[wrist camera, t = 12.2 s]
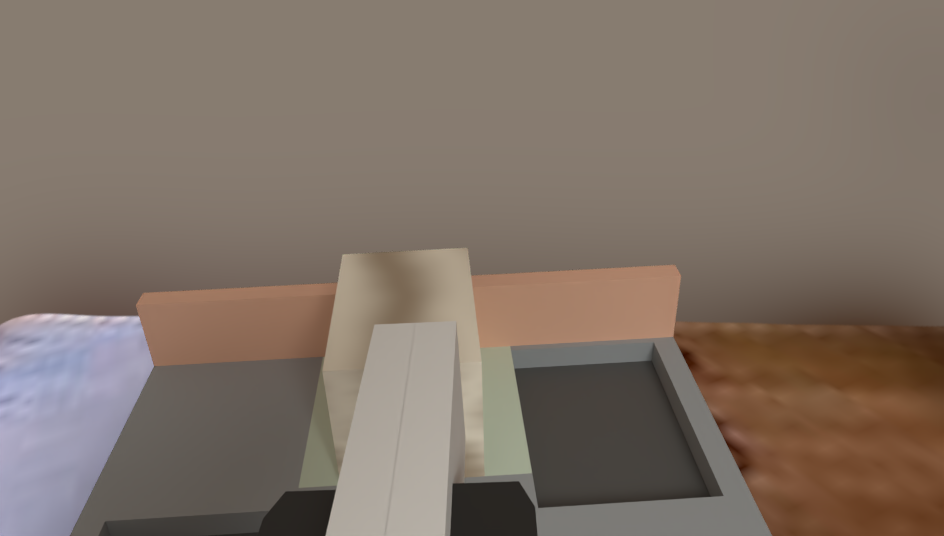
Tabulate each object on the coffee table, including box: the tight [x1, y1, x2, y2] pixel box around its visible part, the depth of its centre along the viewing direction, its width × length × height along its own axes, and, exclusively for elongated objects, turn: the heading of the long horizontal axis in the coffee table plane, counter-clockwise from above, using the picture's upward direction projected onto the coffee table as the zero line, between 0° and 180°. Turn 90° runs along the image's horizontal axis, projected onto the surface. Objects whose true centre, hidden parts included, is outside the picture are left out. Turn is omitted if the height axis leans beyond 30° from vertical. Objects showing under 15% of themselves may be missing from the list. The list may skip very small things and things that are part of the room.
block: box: [322, 248, 485, 478], centre depth 45 cm, size 8×12×8 cm, turn 4°
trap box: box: [70, 265, 772, 536], centre depth 40 cm, size 36×30×7 cm
